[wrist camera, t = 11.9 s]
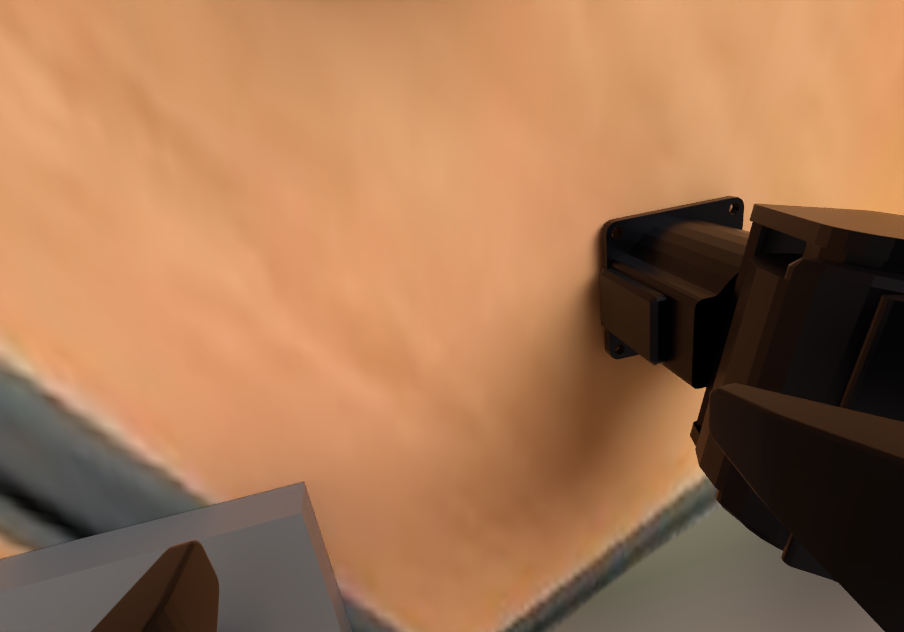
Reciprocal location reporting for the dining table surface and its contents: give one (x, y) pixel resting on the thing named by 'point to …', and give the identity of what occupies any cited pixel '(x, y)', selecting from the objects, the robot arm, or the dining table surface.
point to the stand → (229, 550)
